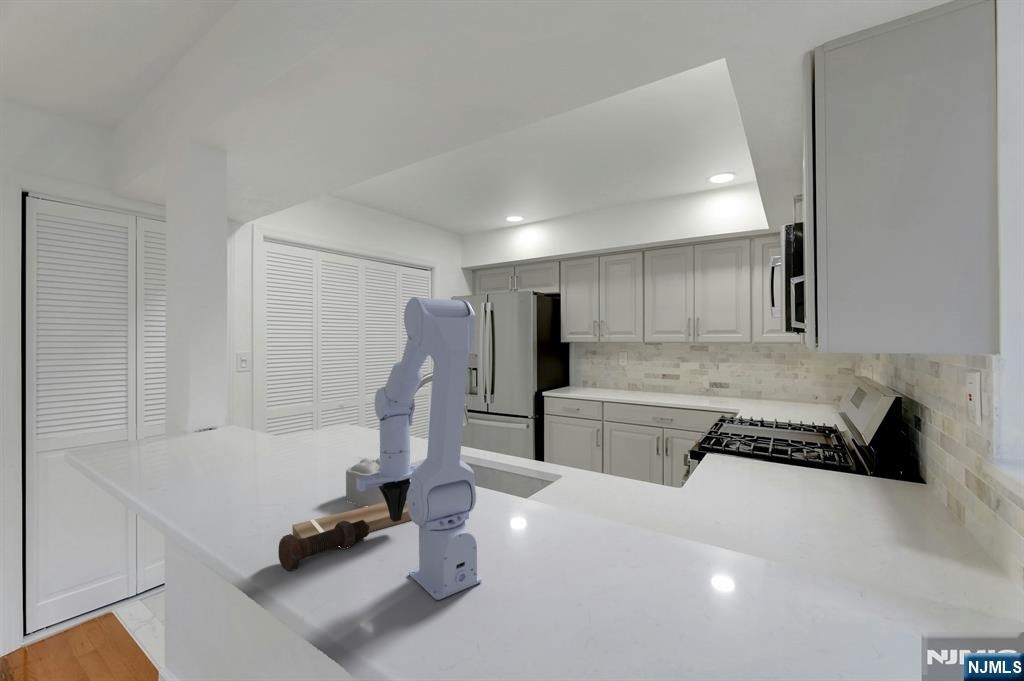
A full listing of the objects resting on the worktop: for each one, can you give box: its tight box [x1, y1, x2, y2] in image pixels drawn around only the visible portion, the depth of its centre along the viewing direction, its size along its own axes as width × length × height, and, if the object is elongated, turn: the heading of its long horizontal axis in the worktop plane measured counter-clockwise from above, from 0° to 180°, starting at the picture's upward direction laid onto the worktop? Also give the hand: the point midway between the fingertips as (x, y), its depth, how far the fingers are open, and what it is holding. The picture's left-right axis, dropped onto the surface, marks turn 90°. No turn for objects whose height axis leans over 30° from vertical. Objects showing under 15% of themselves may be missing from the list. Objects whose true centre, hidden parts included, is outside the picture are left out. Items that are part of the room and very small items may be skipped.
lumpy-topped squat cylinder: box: [345, 457, 386, 507], centre depth 106 cm, size 10×13×9 cm
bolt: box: [278, 520, 370, 572], centre depth 78 cm, size 6×5×15 cm
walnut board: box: [291, 501, 412, 539], centre depth 89 cm, size 8×24×2 cm, turn 129°
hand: (395, 519), depth 86 cm, fingers closed
